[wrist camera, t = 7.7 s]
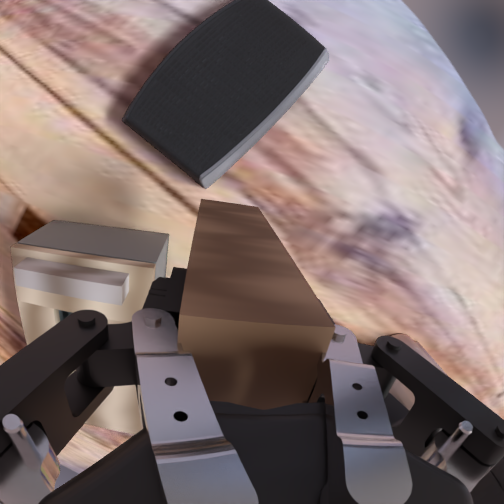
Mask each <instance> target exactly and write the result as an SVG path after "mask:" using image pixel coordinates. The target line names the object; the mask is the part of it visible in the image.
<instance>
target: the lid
mask: <svg viewBox="0 0 504 504" xmlns="http://www.w3.org/2000/svg"><path fill="white" fill-rule="evenodd" d="M10 249H11V259H12V268H13V276H14V283H15V289H16V296H17V301H18V307H19V312H20V317H21V322H22V326H23V331H24V335H25V339H26V343H27V345H28V344H30V343H31V342H33V341H34V340H35V339H37V338H38V337H39V336H41V335H42V334H44V333H45V332H46V331H48V330H49V329H50V328H52V327H53V326H55V325H56V324H57V323H59V322H60V317H59V310H62V311H67V312H72V313H74V312H76V311H79V310H95V311H98V312H101V313H102V314H104V315H105V316H106V317H107V320H108V324H122V323H127V322H131V321H132V315H133V314H134V313H135V312H136V311H138V310H141V309H142V308H143V306H144V303H145V300H146V298H147V295H148V292H149V290H150V287H151V284H152V282H153V281H154V280H155V268H156V264H154V263H146V262H139V261H132V260H124V259H117V258H110V257H103V256H96V255H89V254H82V253H75V252H69V251H62V250H55V249H49V248H42V247H36V246H30V245H23V244H17V243H15V244H14V245H12V246H11V247H10ZM73 372H74V371H73ZM73 372H72V373H73ZM72 373H71V374H72ZM71 374H70V375H71ZM70 375H69V376H70ZM69 376H68V377H69ZM84 424H88V425H92V426H96V427H100V428H105V429H110V430H115V431H120V432H125V433H131V434H136V433H138V432H139V431H140V430H142V429H141V422H140V415H139V409H138V403H137V396H136V389H135V385H127V386H114V388H113V390H112V392H111V393H110V394H109V395H108V396H107V398H106V399H105V400H104V401H103V402H102V403H101V405H100V406H99V407H98V408H97V409H96V410H95V412H94V413H93V414H92V415H91V416H90V417H89V419H88V420H87V421H86V422H85V423H84Z"/></svg>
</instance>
